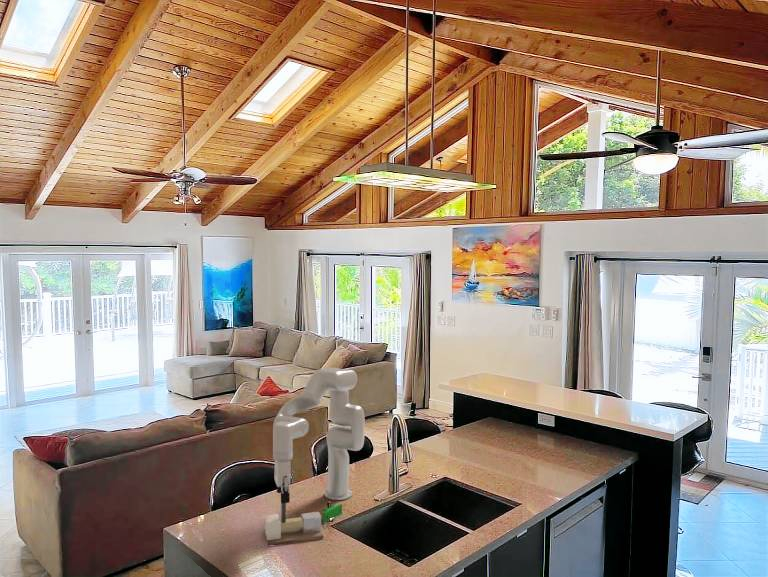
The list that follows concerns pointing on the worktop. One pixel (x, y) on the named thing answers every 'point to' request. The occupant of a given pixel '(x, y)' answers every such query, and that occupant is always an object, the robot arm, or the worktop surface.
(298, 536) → the base board
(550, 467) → the worktop surface
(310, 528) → the sleeve
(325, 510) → the pipe clamp
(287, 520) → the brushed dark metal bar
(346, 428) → the robot arm
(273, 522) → the socket
